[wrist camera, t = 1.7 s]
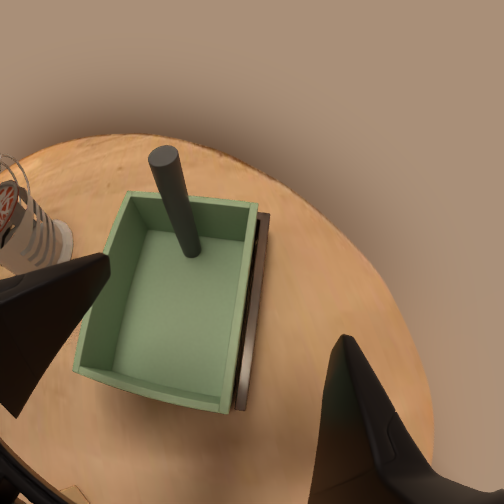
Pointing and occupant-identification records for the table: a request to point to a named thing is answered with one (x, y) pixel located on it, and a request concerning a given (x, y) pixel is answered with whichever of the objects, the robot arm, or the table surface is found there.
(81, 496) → the small wooden cube
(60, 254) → the french press
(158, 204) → the container
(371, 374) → the robot arm
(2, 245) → the beverage can
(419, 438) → the table surface
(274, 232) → the table surface
